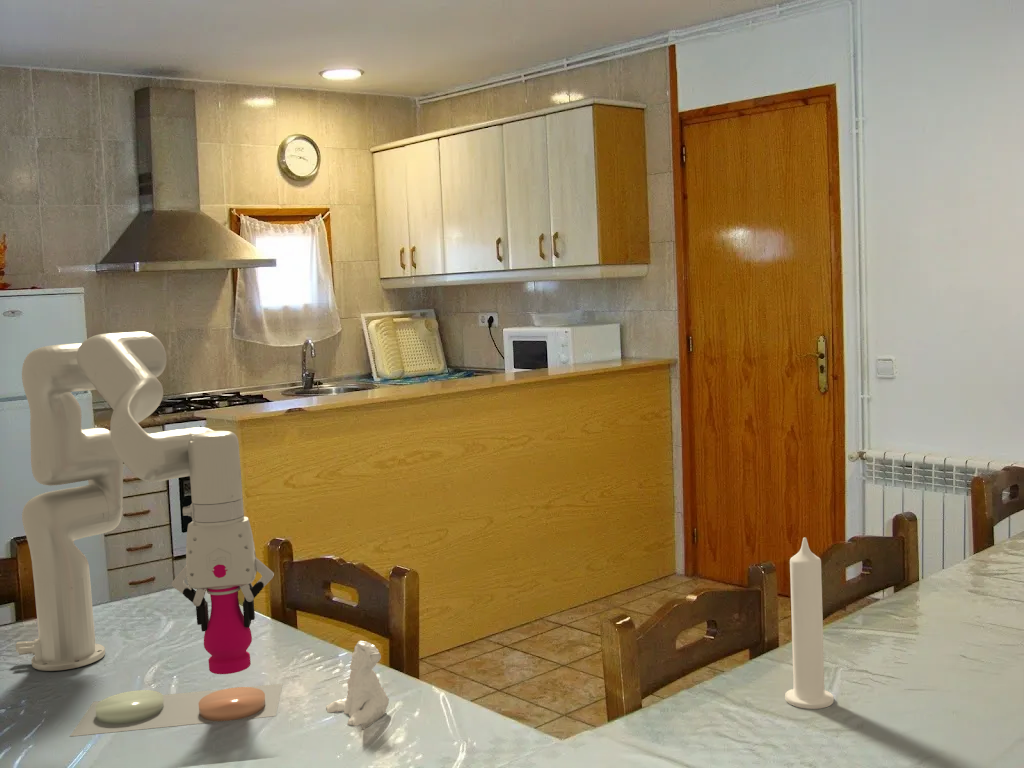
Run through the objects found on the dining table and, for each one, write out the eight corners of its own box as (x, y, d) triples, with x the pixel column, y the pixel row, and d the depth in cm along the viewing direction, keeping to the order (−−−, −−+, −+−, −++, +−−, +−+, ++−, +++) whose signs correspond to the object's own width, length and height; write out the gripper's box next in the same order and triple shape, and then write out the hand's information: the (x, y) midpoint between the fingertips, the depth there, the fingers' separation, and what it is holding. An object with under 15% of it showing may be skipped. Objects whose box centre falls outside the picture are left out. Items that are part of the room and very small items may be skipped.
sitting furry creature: (322, 717, 163) (317, 641, 162) (371, 701, 168) (366, 628, 167) (352, 735, 155) (347, 655, 154) (402, 718, 161) (398, 641, 160)
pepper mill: (241, 676, 160) (230, 546, 159) (197, 675, 162) (186, 546, 160) (261, 659, 167) (252, 535, 166) (219, 659, 169) (209, 535, 167)
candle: (834, 693, 162) (830, 532, 160) (832, 711, 155) (828, 543, 153) (787, 690, 164) (782, 531, 162) (783, 707, 158) (778, 542, 156)
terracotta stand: (194, 724, 159) (193, 714, 159) (204, 699, 169) (203, 690, 169) (262, 717, 161) (261, 707, 160) (268, 693, 170) (267, 684, 170)
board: (70, 744, 157) (69, 736, 157) (94, 708, 171) (93, 701, 171) (276, 723, 161) (275, 715, 161) (283, 690, 175) (282, 683, 175)
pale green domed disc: (88, 727, 160) (88, 717, 160) (104, 702, 170) (104, 693, 170) (157, 720, 161) (156, 710, 161) (169, 696, 171) (168, 687, 171)
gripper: (155, 521, 158) (164, 639, 159) (273, 512, 160) (281, 629, 161) (164, 511, 165) (173, 624, 166) (277, 503, 167) (285, 615, 169)
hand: (226, 625), depth 164 cm, fingers closed on pepper mill, 5 cm apart
